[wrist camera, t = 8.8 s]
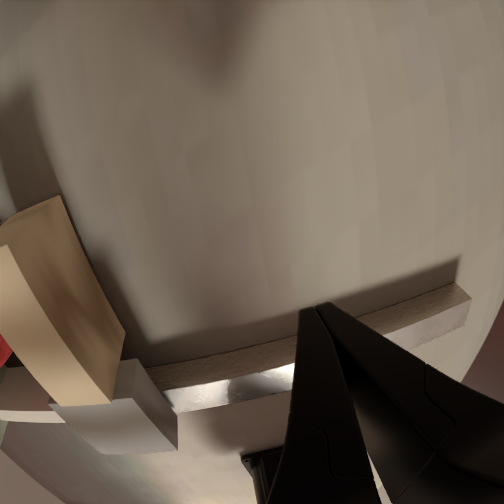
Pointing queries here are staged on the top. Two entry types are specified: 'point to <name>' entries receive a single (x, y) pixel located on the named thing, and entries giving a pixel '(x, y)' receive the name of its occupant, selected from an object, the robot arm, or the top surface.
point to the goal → (23, 399)
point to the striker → (75, 337)
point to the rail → (283, 352)
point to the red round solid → (4, 351)
